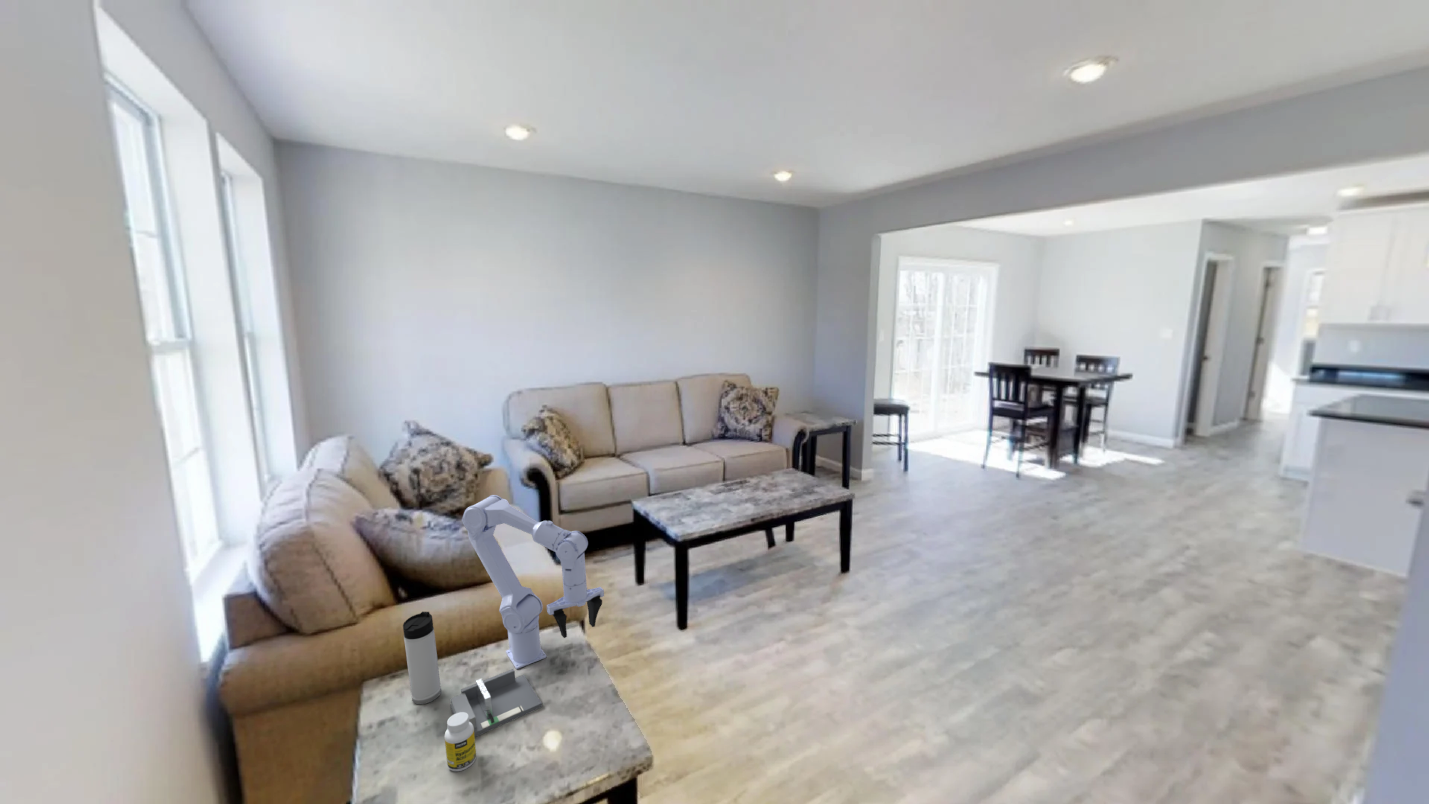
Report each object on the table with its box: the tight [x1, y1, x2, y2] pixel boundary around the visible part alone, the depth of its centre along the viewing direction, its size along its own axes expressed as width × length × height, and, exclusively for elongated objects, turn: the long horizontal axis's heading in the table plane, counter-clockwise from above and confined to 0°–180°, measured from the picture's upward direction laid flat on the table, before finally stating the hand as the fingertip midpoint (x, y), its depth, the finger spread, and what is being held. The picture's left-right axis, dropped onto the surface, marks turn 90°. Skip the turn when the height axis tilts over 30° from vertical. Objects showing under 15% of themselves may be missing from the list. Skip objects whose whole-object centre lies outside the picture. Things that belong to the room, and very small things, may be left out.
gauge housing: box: [449, 668, 543, 738], centre depth 128 cm, size 13×17×4 cm
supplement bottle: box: [444, 712, 477, 772], centre depth 112 cm, size 5×5×10 cm
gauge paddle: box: [475, 678, 494, 723], centre depth 125 cm, size 11×1×5 cm, turn 37°
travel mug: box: [402, 611, 442, 705], centre depth 132 cm, size 6×7×20 cm
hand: (578, 630), depth 142 cm, fingers open, 7 cm apart
